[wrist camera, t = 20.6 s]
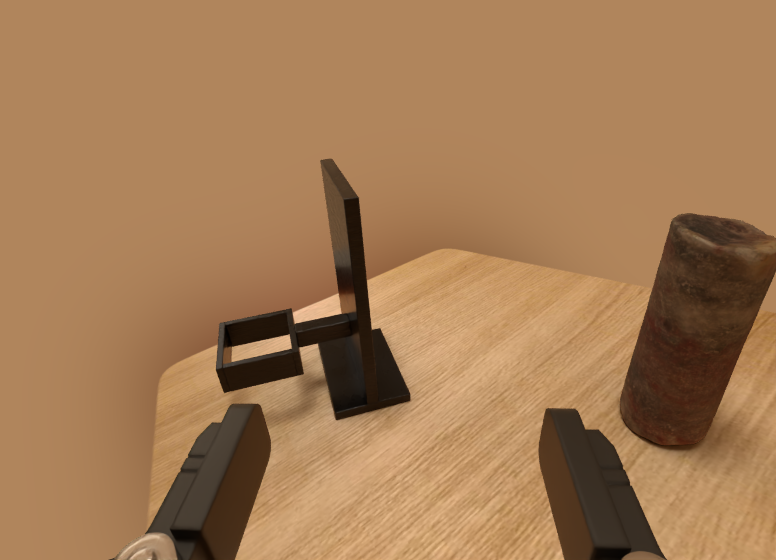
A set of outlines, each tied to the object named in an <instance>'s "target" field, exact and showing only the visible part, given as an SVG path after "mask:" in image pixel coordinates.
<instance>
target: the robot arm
mask: <svg viewBox="0 0 776 560" xmlns="http://www.w3.org/2000/svg"><path fill="white" fill-rule="evenodd" d="M270 452H271V440H270V435H269V432H268V429H267V425H266V422H265V418H264V415H263V412H262V408H261V406H260V405H259V404H232V405H231V406H230V407H229V408H228V410H227V412H226V414H225V416H224V418H223V420H222V422H221V423H211V424H210V425H209V426H208V427H207V428H206V429H205V430H204V431H203V432H202V433H201V434H200V435H199V436H198V437H197V439H196V441H195V443H194V445H193V447H192V448H191V450H190V452H189V454H188V458H186V460H185V462H184V464H183V465H182V467H181V472H180V473H178V475H177V477H176V479H175V480H174V482H173V484H172V486H171V488H170V490H169V492H168V494H167V496H166V497H165V499H164V501H163V503H162V505H161V507H160V509H159V511H158V513H157V514H156V516H155V518H154V520H153V522H152V524H151V526H150V527H149V529H148V531H147V532H146V533H145V535H143V536H140V537H138V538H136V539H135V540H133V541H132V542H130V543H129V544H128V545H126V546H125V547H124V548H123V549H122V550H121V551H120V552H119V554H118V555H117V556H116V557H115V558H113V559H110V560H235V557H236V554H237V552H238V549H239V546H240V543H241V540H242V537H243V534H244V531H245V528H246V525H247V522H248V520H249V517H250V514H251V511H252V508H253V505H254V502H255V499H256V496H257V493H258V490H259V487H260V485H261V482H262V479H263V476H264V473H265V470H266V467H267V464H268V461H269V457H270ZM539 462H540V467H541V472H542V475H543V479H544V483H545V487H546V491H547V494H548V498H549V502H550V506H551V510H552V514H553V517H554V521H555V525H556V529H557V533H558V536H559V540H560V544H561V548H562V552H563V556H564V559H565V560H667V559H666V558H665V556H664V555H663V553H662V552H661V550H660V548H659V546H658V544H657V541H656V539H655V537H654V535H653V533H652V530H651V528H650V526H649V524H648V521H647V519H646V517H645V515H644V512H643V510H642V508H641V506H640V503H639V501H638V499H637V497H636V494H635V492H634V490H633V488H632V486H630V481H629V479H628V476H627V474H626V472H625V470H623V465H622V463H621V461H620V458H619V456H618V454H617V452H616V449H615V447H614V446H613V445H612V444H611V443H610V441H609V440H608V439H607V438H606V437H605V436H604V435H603V434H602V433H601V432H600V431H599V430H585V428H584V425H583V422H582V420H581V417H580V415H579V413H578V411H577V410H576V409H557V408H547V409H546V411H545V414H544V420H543V425H542V430H541V436H540V441H539Z"/></svg>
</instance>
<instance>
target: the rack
mask: <svg viewBox="0 0 776 560" xmlns="http://www.w3.org/2000/svg"><path fill="white" fill-rule="evenodd" d="M321 168H322V176H323V183H324V190H325V197H326V204H327V211H328V218H329V226H330V233H331V240H332V247H333V254H334V262H335V269H336V276H337V284H338V291H339V298H340V305H341V312H342V314H339V315H334V316H330V317H325V318H320V319H315V320H311V321H306V322H301V323H296V324H295V323H294V318H293V313H292V309H286V310H282V311H277V312H273V313H267V314H262V315H258V316H252V317H247V318H243V319H237V320H233V321H228V322H223V323H220V324H219V337H218V349H217V362H216V372H217V374H218V377H219V380H220V383H221V386H222V389H223V392H224V393H226V392H230V391H234V390H239V389H243V388H247V387H251V386H256V385H260V384H264V383H268V382H273V381H277V380H281V379H285V378H289V377H294V376H297V375H303V374H304V372H303V367H302V361H301V355H300V350H299V347H304V346H308V345H313V344H317V343H318V346H319V351H320V355H321V359H322V364H323V368H324V372H325V376H326V381H327V385H328V389H329V393H330V397H331V402H332V406H333V410H334V414H335V419H336V420H338V419H341V418H345V417H349V416H353V415H357V414H360V413H364V412H368V411H372V410H376V409H379V408H383V407H387V406H391V405H395V404H399V403H402V402H406V401H410V392H409V390H408V388H407V386H406V384H405V381H404V379H403V377H402V375H401V373H400V371H399V368H398V366H397V364H396V362H395V360H394V357H393V355H392V353H391V351H390V349H389V347H388V344H387V342H386V340H385V338H384V336H383V333H382V331H381V329H380V328H378V329H374V330H372V328H371V318H370V308H369V298H368V288H367V278H366V267H365V257H364V247H363V237H362V227H361V216H360V206H359V197H358V196H357V195H356V193H355V192H354V190H353V189H352V187H351V186H350V184H349V183H348V181H347V180H346V179H345V177H344V175H343V174H342V173H341V171H340V170H339V168H338V167H337V165H336V164H335V162H334V161H333V159H325V160H321ZM289 334H290V339H291V345H292V349H289V350H284V351H280V352H275V353H271V354H266V355H262V356H258V357H253V358H249V359H244V360H240V361H235V362H231V356H232V347H233V346H238V345H243V344H247V343H252V342H256V341H261V340H266V339H270V338H275V337H280V336H284V335H289Z"/></svg>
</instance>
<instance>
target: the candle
mask: <svg viewBox="0 0 776 560" xmlns="http://www.w3.org/2000/svg"><path fill="white" fill-rule="evenodd" d="M775 272H776V238H775V237H774V236H769V235H766V234H765V233H764V232H763V231H761V230H758V229H757V228H755V227H754V226H753V225H750V224H748V223H745V222H744V221H741V220H735V219H727V218H719V217H715V216H703V215H697V214H691V213H687V214H681V215H678V216H677V217H675V218H673V220H672V222H671V225H670V229H669V233H668V236H667V240H666V243H665V246H664V250H663V254H662V258H661V261H660V264H659V267H658V271H657V274H656V279H655V282H654V286H653V289H652V292H651V295H650V299H649V303H648V306H647V310H646V313H645V316H644V320H643V323H642V326H641V329H640V333H639V336H638V339H637V343H636V346H635V349H634V352H633V356H632V359H631V363H630V366H629V369H628V372H627V376H626V379H625V383H624V387H623V390H622V394H621V398H620V406H621V411H622V415H623V420H624V422H625V423H626V425H627V426H628V427H629V428H630V429H631V430H632V431H634V432H635V433H636V434H638V435H640V436H642V437H645V438H647V439H649V440H651V441H653V442H655V443H657V444H660V445H673V444H675V445H682V444H695V443H697V442H698V441H700V440H702V439H703V438H704V437H705V435H706V434H707V432H708V430H709V428H710V426H711V423H712V421H713V418H714V416H715V414H716V412H717V409H718V407H719V404H720V402H721V400H722V397H723V395H724V392H725V390H726V387H727V385H728V382H729V380H730V377H731V375H732V372H733V370H734V367H735V365H736V363H737V360H738V358H739V355H740V353H741V350H742V348H743V346H744V343H745V341H746V339H747V336H748V334H749V332H750V330H751V328H752V326H753V323H754V321H755V319H756V316H757V314H758V311H759V309H760V306H761V304H762V301H763V299H764V297H765V295H766V293H767V291H768V288H769V286H770V284H771V282H772V279H773V277H774V274H775Z"/></svg>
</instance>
